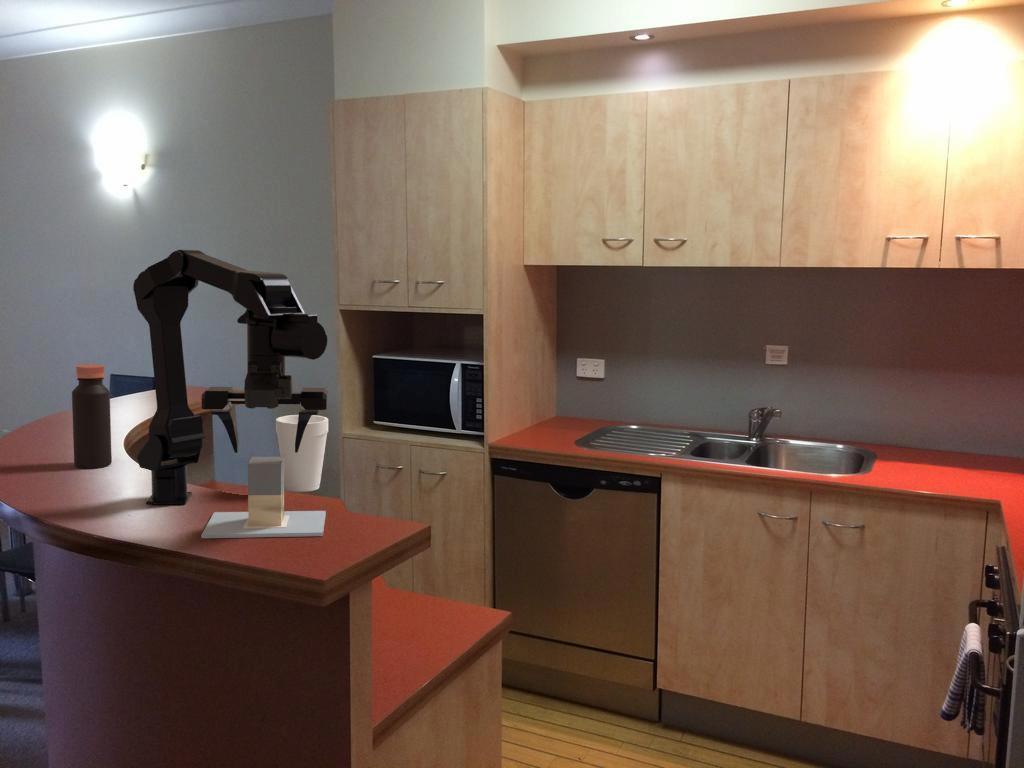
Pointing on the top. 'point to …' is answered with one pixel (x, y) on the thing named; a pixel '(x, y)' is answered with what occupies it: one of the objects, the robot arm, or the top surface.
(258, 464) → the charcoal block
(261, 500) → the maple block
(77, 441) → the bottle
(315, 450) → the foam cup
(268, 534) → the board
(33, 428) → the top surface
